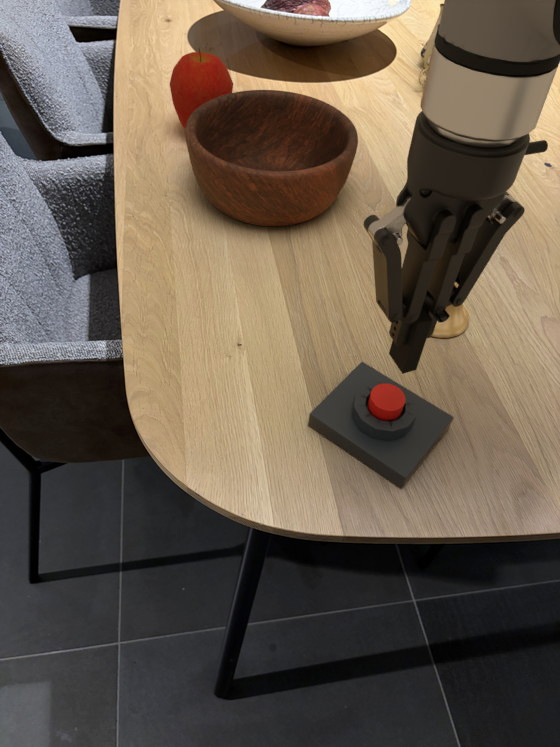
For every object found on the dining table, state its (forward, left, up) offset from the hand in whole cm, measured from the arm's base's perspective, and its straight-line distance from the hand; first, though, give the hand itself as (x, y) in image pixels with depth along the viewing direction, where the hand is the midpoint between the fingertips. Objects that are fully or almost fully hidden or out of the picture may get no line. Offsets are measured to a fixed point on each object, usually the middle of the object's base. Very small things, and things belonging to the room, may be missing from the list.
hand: (402, 361), depth 57 cm
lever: (+10, -39, +2) cm, 40 cm away
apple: (+58, -33, -11) cm, 68 cm away
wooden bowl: (+38, -27, -11) cm, 48 cm away
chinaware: (+38, -88, -11) cm, 97 cm away
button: (0, 0, -8) cm, 8 cm away
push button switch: (0, 0, -11) cm, 11 cm away
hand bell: (+4, -20, -11) cm, 24 cm away
